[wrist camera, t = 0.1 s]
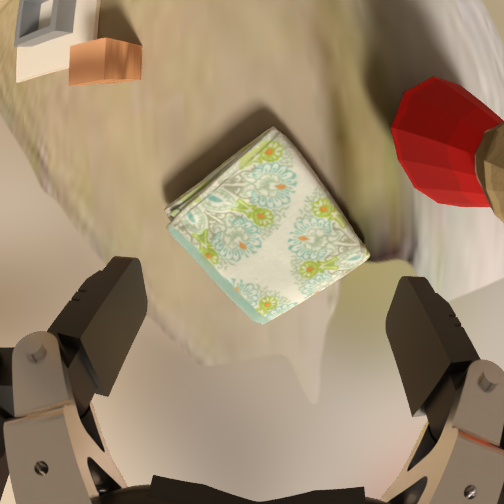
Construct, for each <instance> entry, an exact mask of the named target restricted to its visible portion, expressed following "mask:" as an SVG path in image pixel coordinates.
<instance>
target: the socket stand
mask: <svg viewBox="0 0 504 504" xmlns="http://www.w3.org/2000/svg"><path fill="white" fill-rule="evenodd" d="M100 4H101V0H20V2H19V9H18V15H17V23H16V32H15V42H14V47H18V49H17V69H16V83H18V82H22V81H25V80H28V79H32V78H35V77H38V76H42V75H45V74H49V73H52V72H56V71H60V70H64V69H68V68H69V59H70V46H72V45H76V44H80V43H84V42H88V41H92V40H96V39H97V35H98V23H99V13H100Z"/></svg>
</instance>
